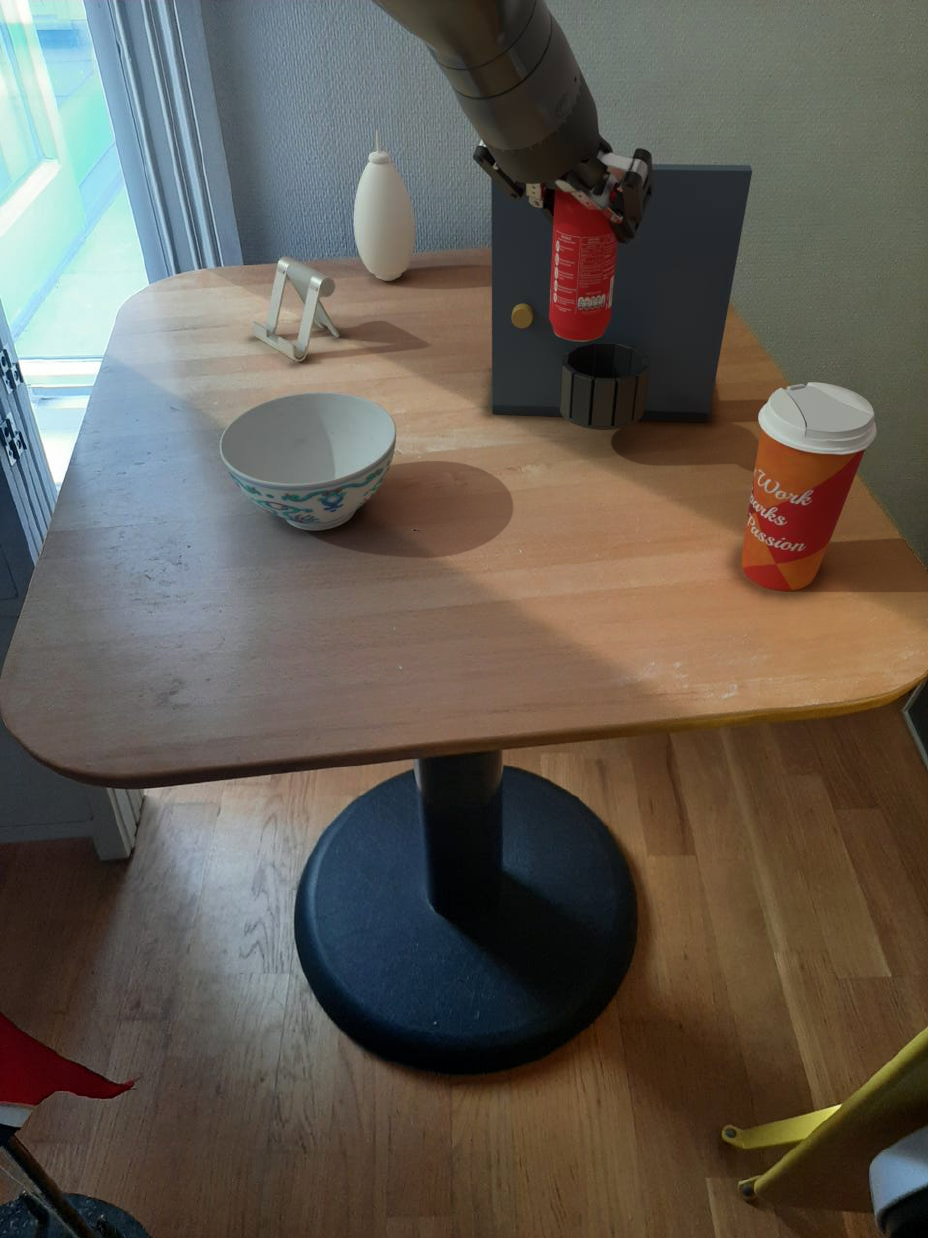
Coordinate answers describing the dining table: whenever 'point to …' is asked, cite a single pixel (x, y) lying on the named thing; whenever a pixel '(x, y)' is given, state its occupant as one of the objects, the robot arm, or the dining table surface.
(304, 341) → the tablet stand
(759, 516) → the coffee cup
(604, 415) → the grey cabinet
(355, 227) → the white air blower
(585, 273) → the beverage can
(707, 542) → the dining table surface
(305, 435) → the chinaware
